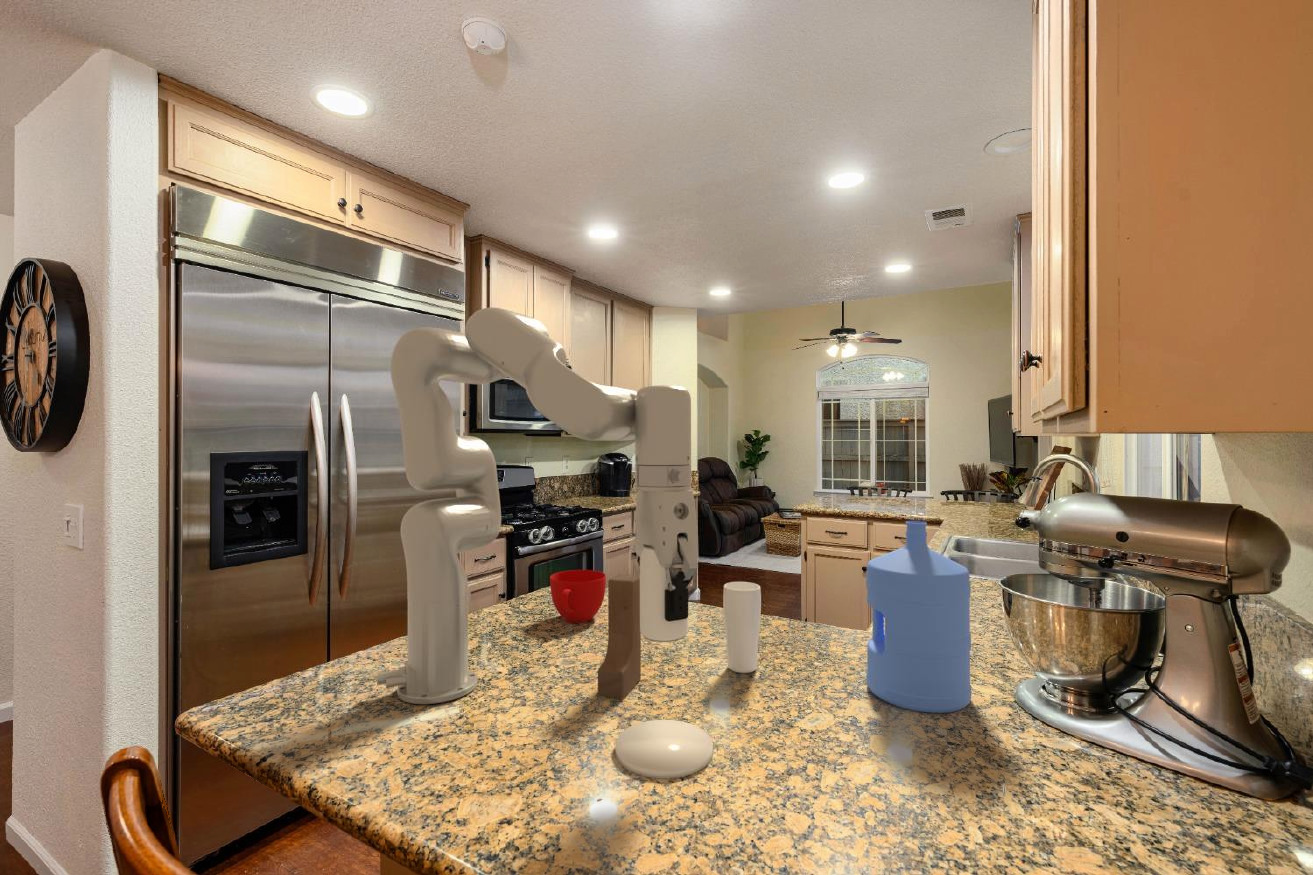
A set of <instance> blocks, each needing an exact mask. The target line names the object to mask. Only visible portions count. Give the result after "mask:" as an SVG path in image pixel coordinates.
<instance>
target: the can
mask: <svg viewBox="0 0 1313 875" xmlns="http://www.w3.org/2000/svg"><path fill="white" fill-rule="evenodd" d="M643 547H644V548H643V551H642V553H641V555H640V566H639V568H640V633H641V637H643V638H644V639H645V640H648V641H651V642H656V643H657V642H658V643H672V642H677V641H680V640H683V639H684V638H685V637H686V636H687V635H688V633H689V617H688V618H687V619H682V620H676V621H670V622H668V621H666V620H665V590H666V589H668V586H667V581H666V570H665V568H664V567H662V566H661V565H659V560H658V558H657V556H656V554H655V552H654V548H649V547H645V546H644V545H643ZM672 562H673V564H680V563H682V561H681V558H673V559H672ZM679 571H681V569H676V570H673V575H674V578H675V576H676V574H677V573H678V572H679Z"/></svg>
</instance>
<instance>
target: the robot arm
mask: <svg viewBox="0 0 1313 875" xmlns="http://www.w3.org/2000/svg"><path fill="white" fill-rule="evenodd" d="M391 354H392V355H391V360H390V377H391V378H390V379H391V383H392V387H393V390H394V393H395V394H394V395H395V397H396V401H397V406H398V410H399V416H400V427H401V428H400V429H401V440H402V450H403V459H404V460H403V461H404V468H405V475H406V479H407V481H408V483H409V485H410V486H411V487H412V488H414V489H415V490H417V491H419V492H421V491H422V492H441V491H442V492H444V491H454V490H455V493H456V494H455V495H456V496H455V497H446V498H437V499H436V498H435V499H430V500H425V501H422V502H419V503H417V504H415V505H413V506H411V507H410V508H409V509H408V510H407V511H406V512H405V513H404V515H403V517H402V520H401V523H400V538H401V542H402V544H401V545H402V548H403V552H404V558H405V566H406V567H405V568H406V575H407V576H406V582H407V583H406V586H407V593H406V594H407V597H406V598H407V660H404V662H403V665H404V666H399V667H398V668H397V669H396V670H391V671H389V670H387V671H381V672H376V686H381V685H385V688H386V689H389V688H394V687H396V688H397V689H396V690H397V693H396V694H397V697H398V698H399V699H400V700H402V701H403V702H406V703H409V704H415V705H430V704H431V705H432V704H440V703H441V704H442V703H445V702H450V701H453V700H456V699H459V698H462V697H464V696H465V695H468V694H470V693H471V692H472V691H474V689H476V687H477V685H478V683H479V681H478V679H479V677H478V674H477V673H476V672H475V671H473V670H471V669H469V581H468V576H467V573H466V570H465V568H464V566H463V565H462V563H461V560H460V559H459V556H458V554H459V553H463V552H468V551H472V550H477V549H481V548H484V547H486V546H489V545H491V544H493V542H494V541H495V540H497V537H498V536H499V533H500V530H501V527H502V526H501V525H502V512H501V511H502V510H501V508H502V507H501V501H500V500H501V499H500V498H501V497H500V491H499V479H498V478H499V477H498V471H497V470H498V468H497V464H496V463H497V462H496V459H495V456H494V455H495V454H493V452H492V449H491V447H490V446H489V445H488V444H487V442H486V441H484V440H483V439H481V438H479V437H476V436H471V435H458V434H457V431H456V426H455V414H454V410H453V407H452V403H451V402H450V399H449V397H448V395H447V393H446V392H445V391H444V389H443V388H442V387H441V386H440V384H439V383H440V381H444V382H445V381H446V382H452V383H461V384H470V385H486V384H491V383H493V382H497V381H499V380H503V379H505V378H508V377H509V379H511V380H513V381H514V382H515V383H517V384H518V385H519V386H521V387H522V388H524V389H525V392H526V394H527V397H528V399H529V401H530V402H531V404H532V406H533V407H534V409H536V411H537V412H538V413H540V414H541V415H542V416H543V417H544V418H546V419H547V420H549V421H550V422H552V423H554V425H556V426H557V427H559V428H560V429H562V430H563V431H565V432H566V433H568V434H570V435H572V436H574V437H575V438H578V439H581V440H584V441H591V442H595V441H597V442H599V441H602V442H603V441H605V442H606V441H607V442H625V441H626V442H627V441H633V440H634V443H635V444H634V445H635V446H634V447H635V448H634V450H635V451H634V454H635V455H634V456H635V457H634V462H635V466H634V468H635V472H634V473H635V474H634V477H635V480H634V482H635V483H634V485H635V488H634V489H635V490H636V491H637V493H636V501H635V502H636V504H635V519H634V546H633V549H634V551H635V554H636V557H637V560H636V561H637V563H638V566H639V569H638V576H640V555H641V553H642V551H643V548H644V547H643V545H644V546H645V547H649V548H654V552H655V554H656V556H657V558H658V560H659V565H661V566H662V567H664V568H665V570H666V581H667V586H668V589H666V590H665V620H666V621H668V622H670V621H676V620H682V619H687V618H688V619H689V590H690V588H691V585H692V584H691V582H692V580H693V578H694V575H695V573H696V572H697V570H698V568H699V564H698V561H699V535H698V533H699V532H698V522H697V521H698V520H697V510H696V504H695V498H694V494H693V490H692V397H691V394H690V391H689V390H688V389H687V388H686V387H682V386H679V385H663V384H662V385H649V386H644V387H641V388H640V389H639V390H637V389H631V388H630V389H629V388H624V387H617V386H611V385H607V384H597V383H595V382H592V381H590V380H589V379H587V378H585V377H583V376H581V375H580V374H579V373H576V371H574V370H573V369H571V368H569V367H568V366H567V360H568V359H567V353H566V350H565V348H564V347H563V346H562V344H561V343H559V342H558V341H556V340H555V339H552V338H551V337H550V335H549V333H548V330H547V328H546V327H545V326H544V324H542V322H541V321H539V320H538V319H536V318H534V317H532V316H528V315H526V314H521V313H518V312H514V311H510V310H508V309H504V308H500V307H485V308H481V309H478V310H476V311H475V312H473V314H472V315H470V316H469V318H468V320H467V321H466V324H465V328H464V332H463V333H462V332H459V331H456V330H450V329H445V328H440V327H430V326H422V327H416V328H415V327H414V328H412V329H410V330H408V331H406V332H404V334H402V335H401V336H400V338H399V339H398V341H397V343H396V344H395V346H394V348H393V351H392V353H391ZM673 558H681V561H682V563H680V564H673V562H672V559H673ZM676 569H681V571H679V572H678V573H677V574H676V576H675V578H674V575H673V570H676Z"/></svg>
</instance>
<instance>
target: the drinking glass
mask: <svg viewBox="0 0 1313 875" xmlns="http://www.w3.org/2000/svg"><path fill="white" fill-rule="evenodd" d="M722 596H723V597H722V600H723V601H722V602H723V603H722V604H723V606H722V607H723V620H724V629H725V641H726V652H727V656H726V657H727V658H726V660H727V667H728V668H729V670H731V671H733V672H734V673H739V674H748V673H752V672H754V671H756V670H757V668H758V652H759V651H758V650H759V649H758V648H759V638H760V625H761V624H760V623H761V613H762V593H761V586H760V585H759V584H757V583H755V582H750V581H749V582H748V581H730V582H727V583H725V584H723V595H722Z"/></svg>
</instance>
